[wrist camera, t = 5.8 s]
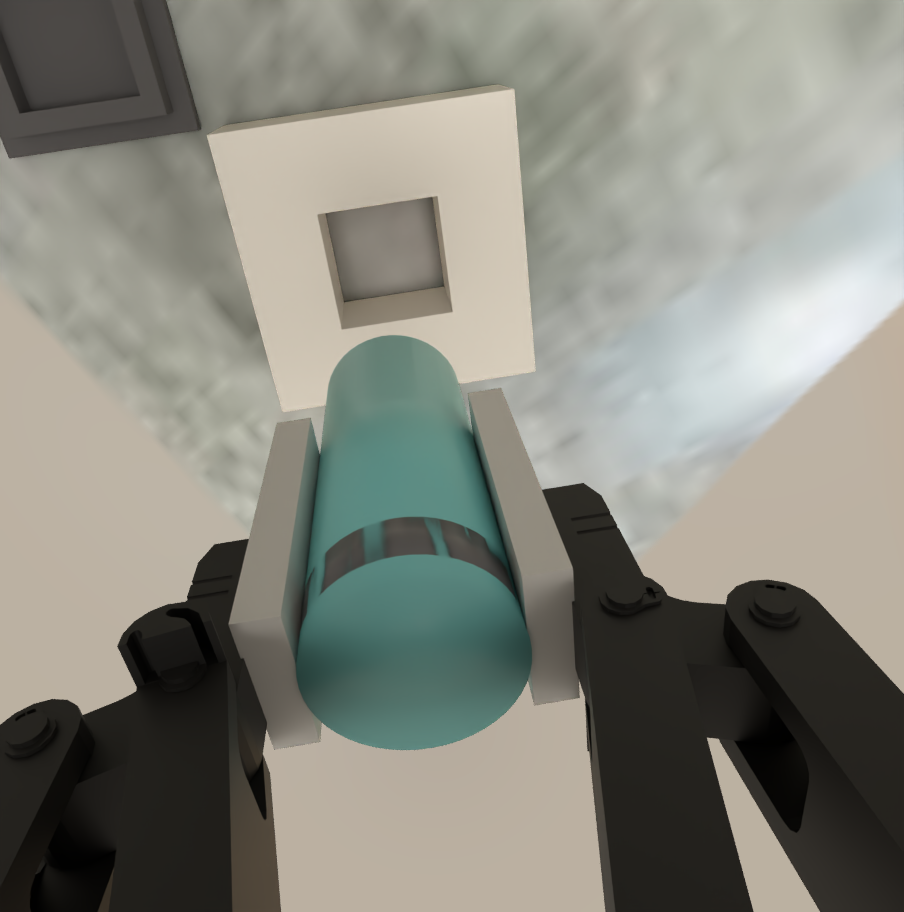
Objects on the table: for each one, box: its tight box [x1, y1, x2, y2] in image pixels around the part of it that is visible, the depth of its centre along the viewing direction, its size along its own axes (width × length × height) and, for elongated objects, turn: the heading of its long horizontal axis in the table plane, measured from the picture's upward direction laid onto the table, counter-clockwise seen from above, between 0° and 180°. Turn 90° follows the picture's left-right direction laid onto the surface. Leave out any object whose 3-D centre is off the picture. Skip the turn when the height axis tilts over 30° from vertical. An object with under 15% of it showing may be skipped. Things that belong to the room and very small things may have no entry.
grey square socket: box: [0, 0, 201, 158], centre depth 29 cm, size 8×8×2 cm
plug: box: [296, 335, 532, 750], centre depth 15 cm, size 4×4×10 cm
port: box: [207, 84, 536, 412], centre depth 33 cm, size 12×12×4 cm
